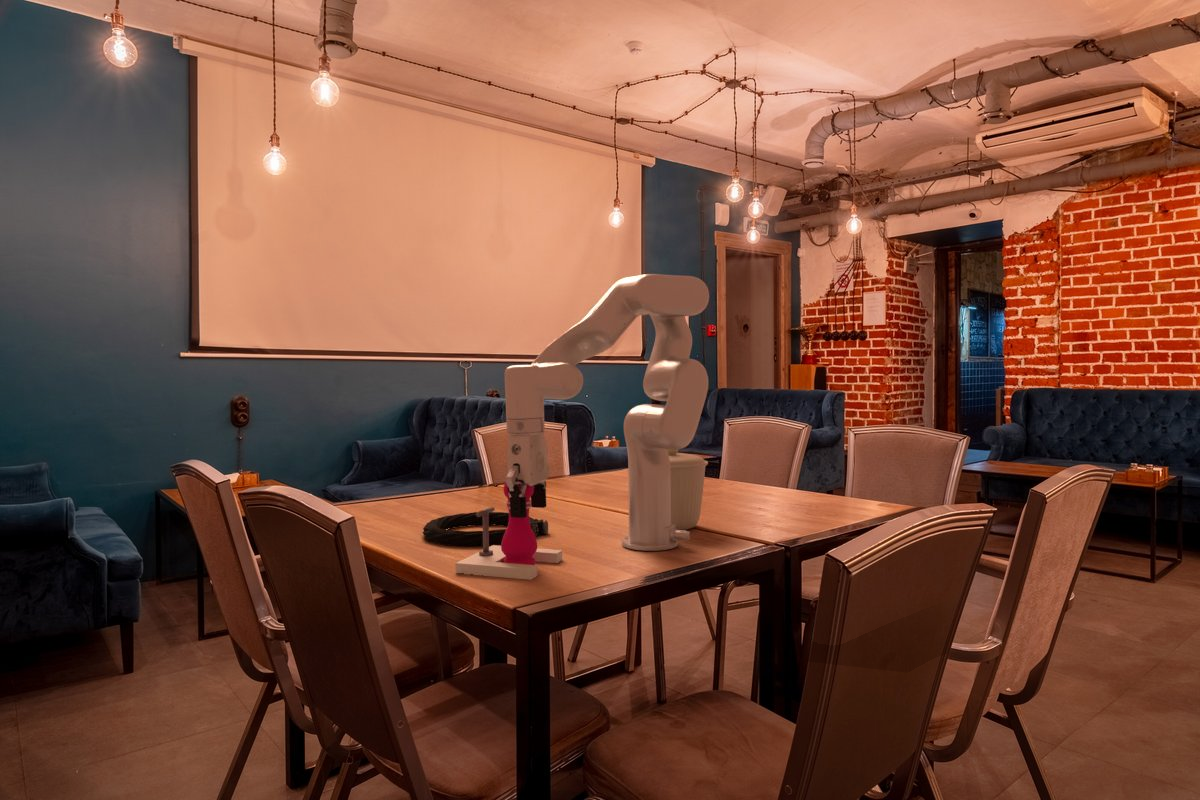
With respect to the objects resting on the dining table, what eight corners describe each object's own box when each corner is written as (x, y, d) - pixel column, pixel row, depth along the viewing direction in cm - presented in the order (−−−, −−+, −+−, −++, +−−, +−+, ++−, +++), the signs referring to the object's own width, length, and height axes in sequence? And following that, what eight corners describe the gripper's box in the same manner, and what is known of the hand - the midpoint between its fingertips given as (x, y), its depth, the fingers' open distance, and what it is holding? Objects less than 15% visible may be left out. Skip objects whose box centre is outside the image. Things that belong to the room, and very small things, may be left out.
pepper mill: (498, 565, 154) (497, 466, 153) (533, 562, 156) (532, 465, 156) (504, 574, 147) (503, 471, 147) (541, 571, 150) (540, 469, 149)
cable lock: (437, 510, 198) (552, 509, 197) (437, 525, 198) (552, 524, 197) (408, 532, 170) (542, 531, 170) (408, 549, 171) (542, 549, 170)
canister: (674, 517, 203) (673, 438, 202) (723, 528, 189) (723, 443, 188) (621, 525, 192) (620, 442, 192) (668, 538, 178) (668, 448, 177)
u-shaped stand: (562, 559, 158) (561, 505, 158) (530, 579, 143) (530, 520, 143) (493, 554, 163) (492, 502, 163) (455, 573, 148) (454, 515, 148)
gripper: (524, 431, 142) (528, 522, 143) (559, 422, 158) (562, 504, 159) (488, 431, 144) (492, 520, 145) (526, 423, 161) (529, 503, 162)
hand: (529, 512), depth 152 cm, fingers open, 9 cm apart
